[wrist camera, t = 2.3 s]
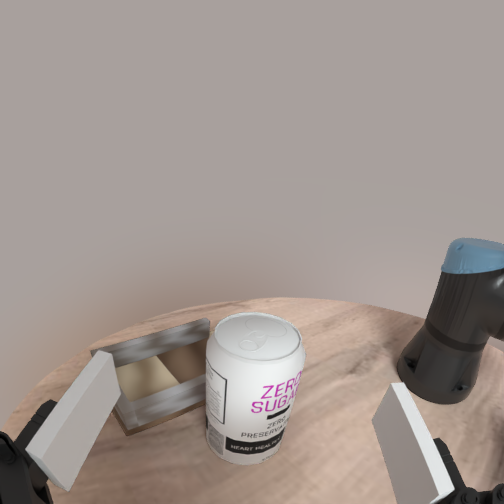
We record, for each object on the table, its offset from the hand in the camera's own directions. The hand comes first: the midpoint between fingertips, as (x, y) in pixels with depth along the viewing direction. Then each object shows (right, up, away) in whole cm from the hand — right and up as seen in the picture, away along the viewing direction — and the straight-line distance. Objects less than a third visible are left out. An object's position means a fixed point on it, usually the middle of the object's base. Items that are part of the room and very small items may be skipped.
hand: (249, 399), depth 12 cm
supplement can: (-1, -14, +15) cm, 21 cm away
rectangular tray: (-8, -10, +25) cm, 28 cm away
